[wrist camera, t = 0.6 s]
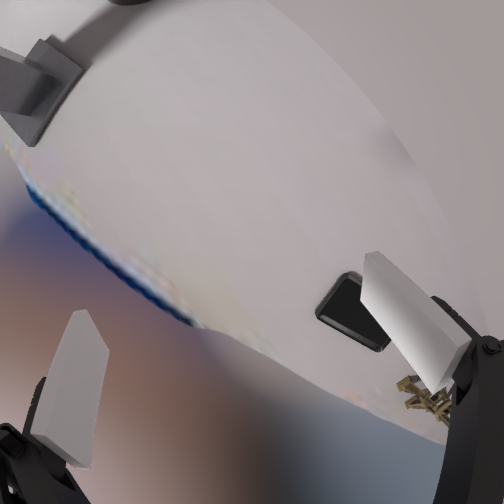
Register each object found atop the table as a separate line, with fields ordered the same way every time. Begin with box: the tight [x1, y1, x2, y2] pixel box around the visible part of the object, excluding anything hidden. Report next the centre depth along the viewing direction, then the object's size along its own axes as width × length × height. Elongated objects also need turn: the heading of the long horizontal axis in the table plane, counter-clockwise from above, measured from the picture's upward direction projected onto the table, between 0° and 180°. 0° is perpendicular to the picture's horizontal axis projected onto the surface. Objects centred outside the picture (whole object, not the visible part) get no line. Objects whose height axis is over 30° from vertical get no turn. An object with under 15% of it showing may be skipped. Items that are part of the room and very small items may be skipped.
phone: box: [315, 273, 391, 352], centre depth 40 cm, size 8×1×15 cm
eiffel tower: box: [397, 376, 452, 428], centre depth 33 cm, size 11×11×25 cm
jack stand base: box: [0, 39, 85, 147], centre depth 21 cm, size 14×14×16 cm
